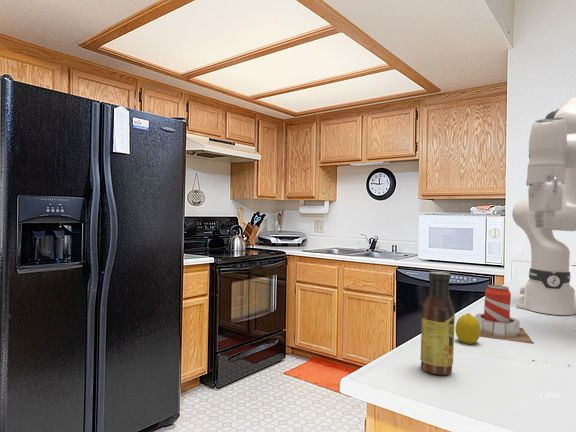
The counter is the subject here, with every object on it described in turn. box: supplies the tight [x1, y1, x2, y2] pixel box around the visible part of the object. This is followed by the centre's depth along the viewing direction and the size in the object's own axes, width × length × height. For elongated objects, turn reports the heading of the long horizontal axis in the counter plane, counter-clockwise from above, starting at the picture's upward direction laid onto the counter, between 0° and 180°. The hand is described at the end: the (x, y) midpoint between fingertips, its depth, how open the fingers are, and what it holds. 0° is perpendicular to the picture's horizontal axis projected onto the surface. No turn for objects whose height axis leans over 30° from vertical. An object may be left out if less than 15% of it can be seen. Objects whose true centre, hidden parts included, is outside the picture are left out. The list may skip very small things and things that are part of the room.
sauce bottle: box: [420, 271, 456, 376], centre depth 83 cm, size 7×6×20 cm
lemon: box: [454, 313, 481, 345], centre depth 99 cm, size 6×6×8 cm
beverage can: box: [483, 284, 512, 323], centre depth 109 cm, size 6×6×12 cm
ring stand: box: [479, 327, 535, 345], centre depth 109 cm, size 15×15×1 cm
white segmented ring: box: [474, 312, 521, 337], centre depth 109 cm, size 10×10×4 cm
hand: (543, 228), depth 111 cm, fingers open, 8 cm apart
